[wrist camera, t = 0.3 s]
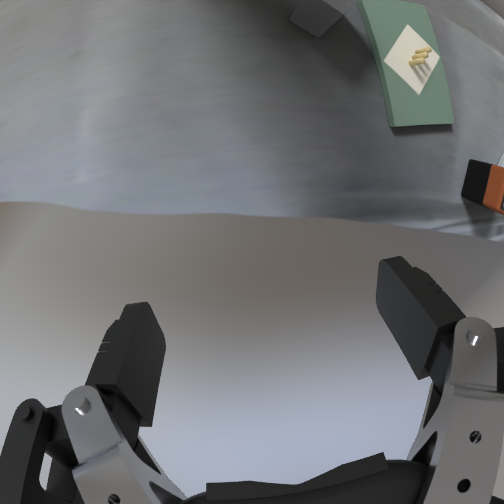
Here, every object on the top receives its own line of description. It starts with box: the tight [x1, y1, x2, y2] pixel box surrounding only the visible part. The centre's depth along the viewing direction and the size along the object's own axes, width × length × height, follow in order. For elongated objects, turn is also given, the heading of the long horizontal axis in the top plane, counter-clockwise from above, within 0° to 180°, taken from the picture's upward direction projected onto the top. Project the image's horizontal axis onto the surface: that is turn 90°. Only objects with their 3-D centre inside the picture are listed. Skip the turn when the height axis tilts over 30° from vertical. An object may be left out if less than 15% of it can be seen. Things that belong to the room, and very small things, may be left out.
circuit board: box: [356, 0, 454, 127], centre depth 27 cm, size 20×12×4 cm, turn 13°
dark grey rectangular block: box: [289, 0, 356, 38], centre depth 23 cm, size 6×4×9 cm
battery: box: [461, 159, 504, 215], centre depth 33 cm, size 4×7×10 cm, turn 168°
